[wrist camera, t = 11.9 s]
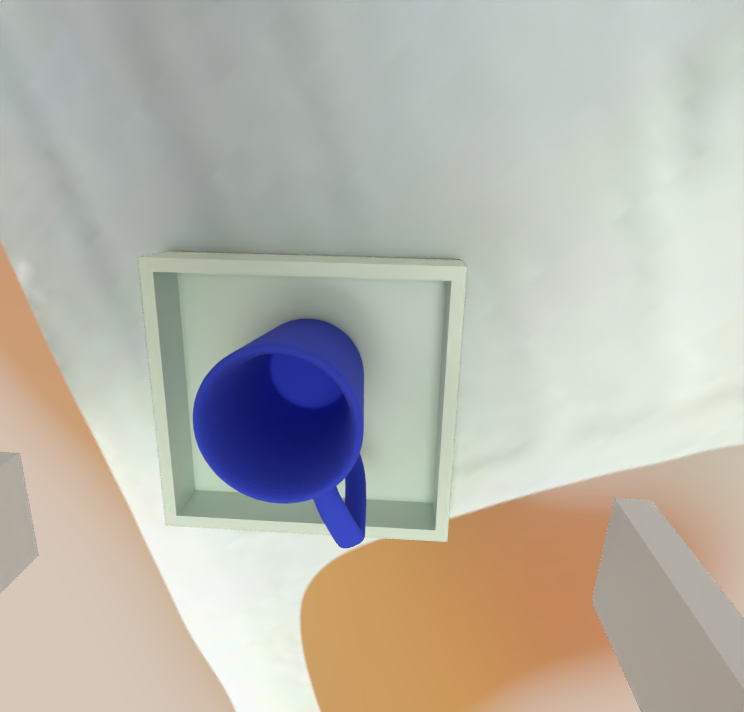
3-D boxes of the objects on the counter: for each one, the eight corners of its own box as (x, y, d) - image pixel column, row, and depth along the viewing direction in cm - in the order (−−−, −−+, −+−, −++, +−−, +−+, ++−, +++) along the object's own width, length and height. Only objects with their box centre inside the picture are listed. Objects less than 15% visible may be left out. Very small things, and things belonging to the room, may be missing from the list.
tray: (168, 251, 33) (137, 257, 29) (459, 259, 32) (467, 266, 28) (189, 493, 38) (165, 525, 34) (442, 507, 37) (447, 541, 33)
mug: (314, 487, 37) (281, 587, 27) (228, 336, 34) (158, 389, 24) (420, 443, 35) (426, 532, 26) (339, 282, 32) (312, 315, 23)
